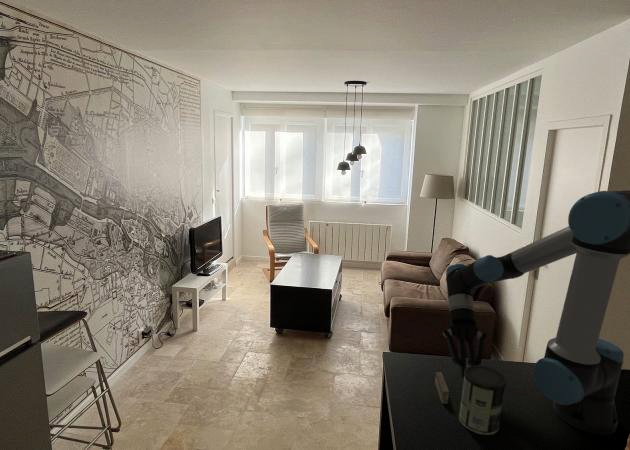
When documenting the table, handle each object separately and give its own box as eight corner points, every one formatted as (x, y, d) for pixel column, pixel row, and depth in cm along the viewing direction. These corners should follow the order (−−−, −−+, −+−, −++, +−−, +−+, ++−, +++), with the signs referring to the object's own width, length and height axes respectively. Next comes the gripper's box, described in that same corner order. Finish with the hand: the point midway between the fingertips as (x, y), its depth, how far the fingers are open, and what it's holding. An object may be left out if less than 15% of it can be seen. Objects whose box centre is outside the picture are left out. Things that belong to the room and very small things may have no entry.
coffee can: (489, 410, 115) (496, 365, 112) (505, 436, 105) (513, 387, 102) (453, 408, 115) (459, 363, 112) (465, 434, 105) (472, 385, 102)
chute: (483, 387, 126) (484, 376, 125) (494, 408, 116) (496, 395, 115) (434, 383, 127) (436, 371, 126) (442, 403, 117) (443, 391, 116)
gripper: (479, 317, 130) (489, 394, 118) (438, 314, 131) (443, 390, 119) (486, 308, 124) (498, 389, 111) (443, 305, 125) (450, 385, 112)
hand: (470, 390), depth 115 cm, fingers closed
